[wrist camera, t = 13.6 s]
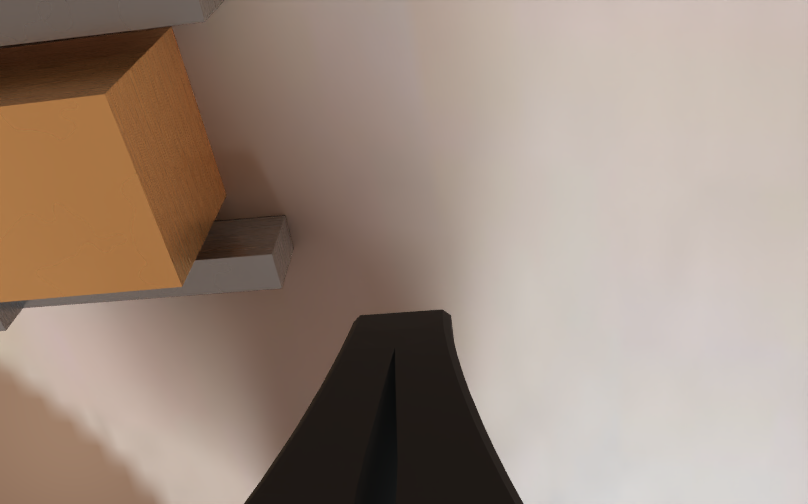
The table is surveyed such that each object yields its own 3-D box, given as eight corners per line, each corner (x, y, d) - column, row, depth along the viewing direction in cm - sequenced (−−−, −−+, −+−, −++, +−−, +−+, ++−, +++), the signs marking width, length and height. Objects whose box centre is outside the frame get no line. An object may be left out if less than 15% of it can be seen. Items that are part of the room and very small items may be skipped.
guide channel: (213, -56, 17) (174, -23, 14) (293, 248, 22) (274, 311, 19) (-151, -8, 18) (-246, 31, 15) (6, 271, 23) (-46, 334, 20)
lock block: (173, 24, 18) (104, 94, 14) (227, 192, 21) (182, 286, 17) (-43, 52, 19) (-161, 125, 15) (38, 211, 21) (-44, 306, 18)
